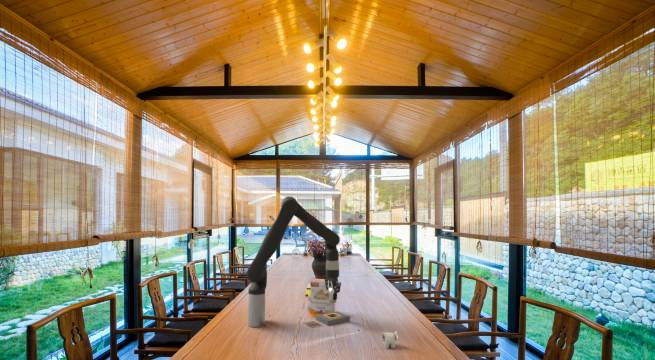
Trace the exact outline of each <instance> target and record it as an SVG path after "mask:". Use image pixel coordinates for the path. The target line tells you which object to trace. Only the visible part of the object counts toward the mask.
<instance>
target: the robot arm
mask: <svg viewBox="0 0 655 360" xmlns="http://www.w3.org/2000/svg"><path fill="white" fill-rule="evenodd" d="M294 217H296V218H297V219H298V220H299V221H301V223H303V224H304V225H305V226H306V227H307V228H308V229H309V230H310V231H311V232H313V233H314V234H315V235H316V236H318V237H320V238H322V239H323V240H324V245H325V253H326V254H325V255H326V259H325V261H326V262H325V276H326V278H325V285H326V290H328V292H329V287H332V289H333V300H336V301H337V300H338V294H339V293H341V292H340V291H341V286H342V282H339V279H338V278H339V277H340V262H339V261H340V260H339V255H340V254H339V250H338V248H337V246H338V245H339V244H340V242H341V238H340V236H339V234H338V233H336V232H335V231H333V230H332V229H330V228H329V227H327V226H326V225H325V224H324V223H322V221H320V220H319V219H318V218H317V217H315V216H314V215H312V214H311V213H310V212H308V211H307V209H305V208H304V207H303V206H302V205H301V204H300V203H299V202H298V201H297V199H296V198H295V197H293V196H286V197H284V198H282V200H281V205H280V210H279V212H278V215H277V216H276V219H275V220H274V222H273V223H272V225H270V227H269V228H268V230H267V232H266V234H265V236H264V238H263V240H262V242H261V243H260V244H261V245H260V247H259V248H258V251H257V253H256V255H255V257H254V259H253V260H252V261H251V263H250V264H249V266H248V268H247V270H246V278H247V280H248V281H249V282H250V286H249V287H248V296H247V297H248V302H247V303H248V305H247V306H248V307H247V308H248V310H247V312H248V313H247V314H248V315H247V316H248V317H247V319H248V320H247V326H248V327H250V328H258V327H259V328H260V327H263V326H265V324H266V288H267V285H268V284H267V283H268V270H267V267H266V265H267V263H268V262H269V260H270V259H271V257H272V256H273V255H274V254H275V253H276V251H277V250H278V248H279V246H280V245H281V243H282V240H283V238H284V236H285V234H286V231H287V229H288V227H289V224H290V222H291V220H292V219H293V218H294ZM327 285H328V287H327Z"/></svg>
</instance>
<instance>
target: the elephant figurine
mask: <svg viewBox="0 0 655 360" xmlns="http://www.w3.org/2000/svg"><path fill="white" fill-rule="evenodd" d="M398 339H399V335H398V331H397V330H395V331H394V332H383V331H381V341H382V343H383V346H384V348H385V349H389V348H391V349H396V342H397V341H398Z"/></svg>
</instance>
